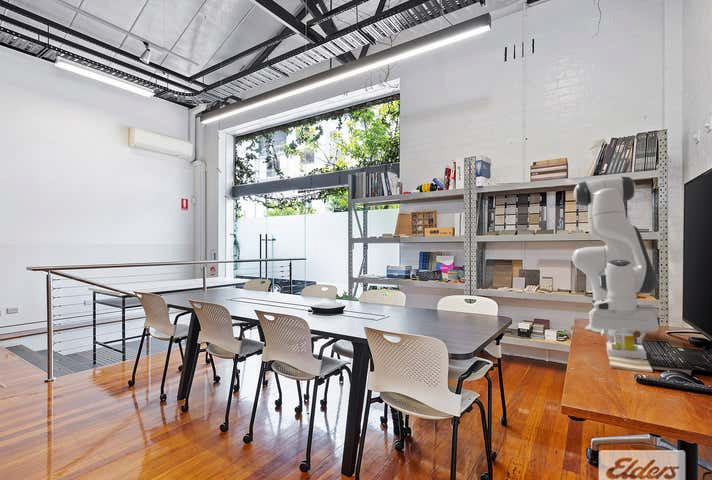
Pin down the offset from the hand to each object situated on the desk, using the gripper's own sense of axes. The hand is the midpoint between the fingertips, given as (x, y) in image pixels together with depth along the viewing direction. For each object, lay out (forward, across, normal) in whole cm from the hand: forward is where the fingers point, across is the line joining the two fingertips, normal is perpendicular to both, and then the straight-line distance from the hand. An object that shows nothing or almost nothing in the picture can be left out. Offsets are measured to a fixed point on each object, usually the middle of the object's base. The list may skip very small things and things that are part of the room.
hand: (624, 341), depth 136 cm
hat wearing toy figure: (+5, +3, -13) cm, 14 cm away
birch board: (+5, 0, +13) cm, 14 cm away
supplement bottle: (+5, 0, 0) cm, 5 cm away
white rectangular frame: (+5, 0, 0) cm, 5 cm away
